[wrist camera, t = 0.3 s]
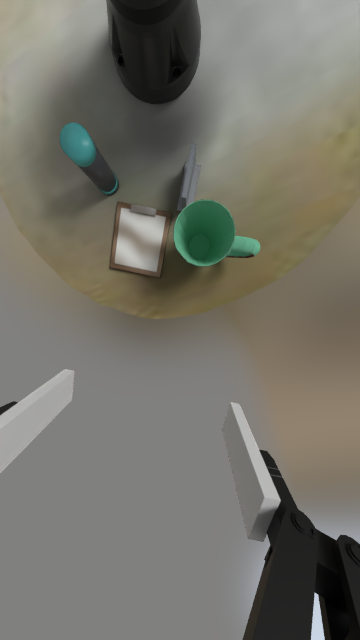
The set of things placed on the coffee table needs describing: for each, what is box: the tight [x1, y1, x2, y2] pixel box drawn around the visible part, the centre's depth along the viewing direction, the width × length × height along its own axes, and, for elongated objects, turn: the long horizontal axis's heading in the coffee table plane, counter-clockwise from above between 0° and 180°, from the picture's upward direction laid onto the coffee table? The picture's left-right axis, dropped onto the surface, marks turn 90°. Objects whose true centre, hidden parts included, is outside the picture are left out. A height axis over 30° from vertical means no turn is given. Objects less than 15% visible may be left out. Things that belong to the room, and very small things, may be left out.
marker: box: [60, 123, 119, 195], centre depth 30 cm, size 4×4×11 cm
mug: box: [173, 199, 260, 267], centre depth 33 cm, size 15×10×10 cm
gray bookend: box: [177, 143, 201, 212], centre depth 33 cm, size 8×3×6 cm, turn 168°
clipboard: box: [110, 202, 171, 278], centre depth 37 cm, size 13×11×1 cm
